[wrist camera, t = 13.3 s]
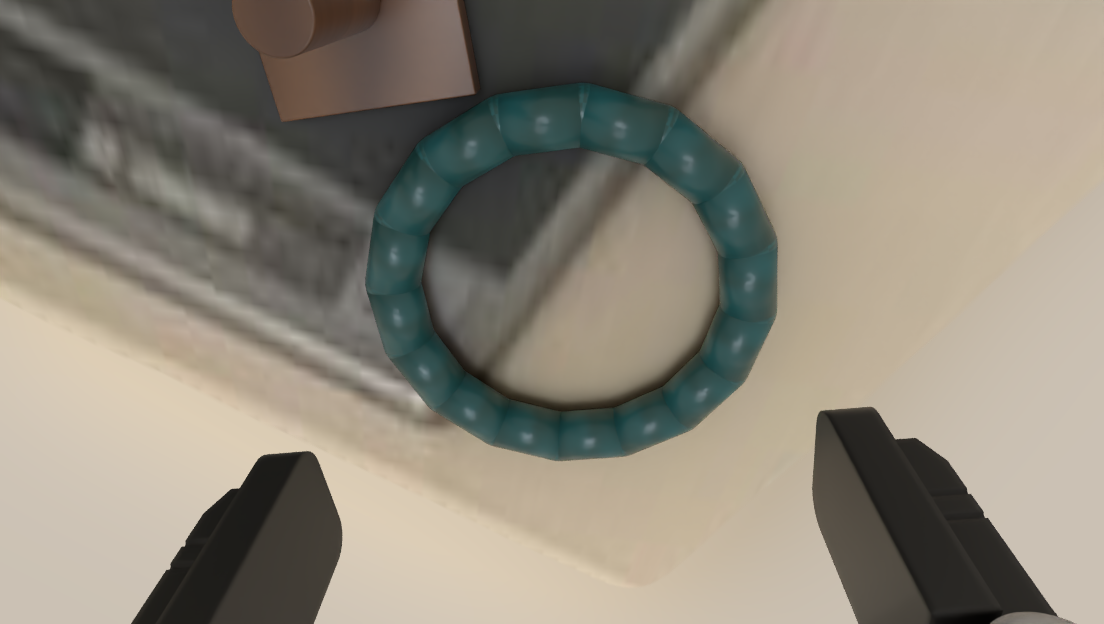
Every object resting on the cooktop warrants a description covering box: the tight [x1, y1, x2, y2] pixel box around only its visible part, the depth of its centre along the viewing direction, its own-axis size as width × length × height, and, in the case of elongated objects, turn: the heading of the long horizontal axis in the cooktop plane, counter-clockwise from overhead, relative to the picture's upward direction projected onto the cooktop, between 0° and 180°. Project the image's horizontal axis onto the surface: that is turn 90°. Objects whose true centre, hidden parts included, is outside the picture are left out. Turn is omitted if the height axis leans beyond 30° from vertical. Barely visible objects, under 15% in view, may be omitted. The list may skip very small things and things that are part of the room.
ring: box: [365, 82, 778, 461], centre depth 30 cm, size 18×18×2 cm
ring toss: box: [232, 0, 480, 122], centre depth 23 cm, size 8×8×8 cm
